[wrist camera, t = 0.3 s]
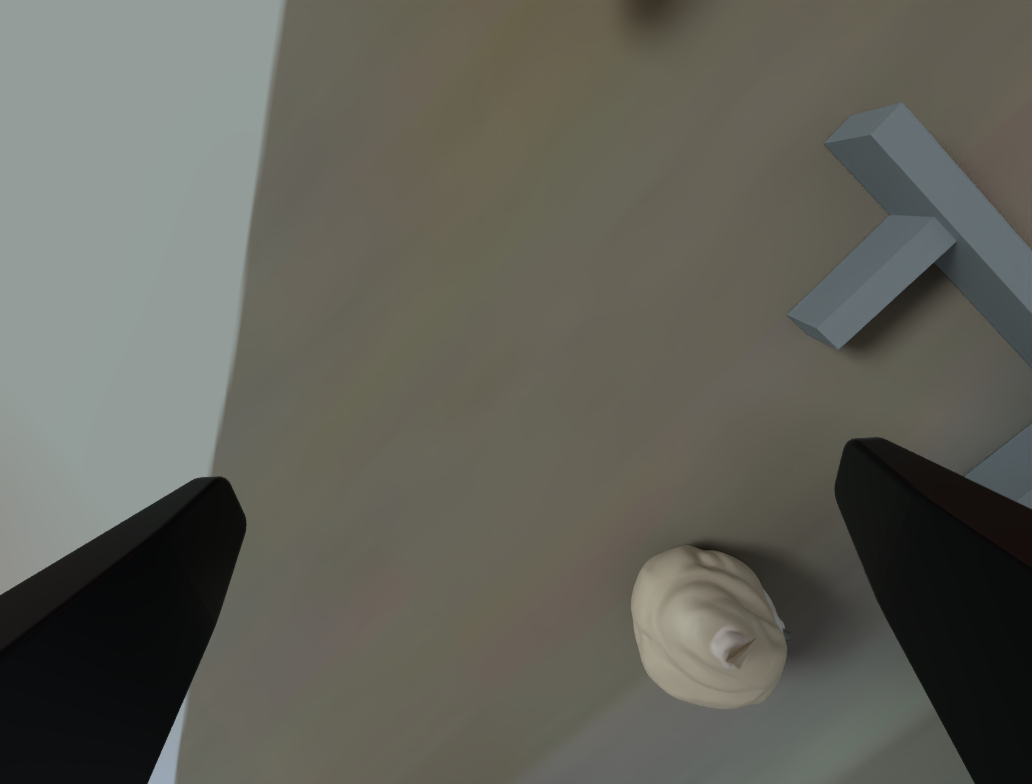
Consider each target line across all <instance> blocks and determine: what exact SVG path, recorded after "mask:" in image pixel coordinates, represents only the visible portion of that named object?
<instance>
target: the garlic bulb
mask: <svg viewBox="0 0 1032 784" xmlns="http://www.w3.org/2000/svg"><path fill="white" fill-rule="evenodd" d="M631 612H632V615H633V626H634V633H635V637H636V641H637V644H638V647H639V652H640V656H641V660H642V663H643V666H644V668H645V670H646V672H647V674H648V675H649V676H650V677H651V679H652V680H653V681H654V682H656V683H657V684H658V685H659V686H660V687H661V688H662V689H663V690H665V691H666V692H667V693H668V694H670V695H671V696H673V697H675V698H677V699H680V700H682V701H686V702H689V703H692V704H696V705H700V706H704V707H710V708H717V709H735V708H741V707H745V706H748V705H755V704H759V703H762V702H764V701H765V700H766V699H767V698H768V697H769V696H770V695H771V693H772V692H773V690H774V689H775V687H776V686H777V684H778V682H779V680H780V678H781V675H782V672H783V668H784V666H785V663H786V657H787V651H788V647H787V646H786V641H788V640H790V638H791V634H790V632H788V631H786V630H785V626H784V623H783V622H782V620H781V619H779V617H778V615H777V612H776V609H775V607H774V605H773V603H772V601H771V599H770V597H769V596H768V594H767V593H766V591H765V590H764V589H763V588H762V585H761V583H760V581H759V579H758V578H757V576H756V575H755V573H754V572H753V571H752V570H751V569H750V568H749V567H748V566H747V565H745V564H744V563H743V562H741V561H740V560H738V559H736V558H734V557H732V556H730V555H727V554H725V553H722V552H719V551H714V550H707V551H705V550H701V549H698V548H696V547H694V546H691V545H682V546H678V547H675V548H672V549H670V550H667V551H664V552H662V553H659V554H657V555H655V556H653V557H652V558H650V559H649V560H648V561H647V562H646V563H645V564H644V566H643V567H642V569H641V570H640V572H639V574H638V577H637V580H636V582H635V585H634V588H633V593H632V599H631Z"/></svg>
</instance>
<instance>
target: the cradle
mask: <svg viewBox="0 0 1032 784" xmlns="http://www.w3.org/2000/svg"><path fill="white" fill-rule="evenodd" d="M824 145H825V146H826V147H827V148H828V149H829V150H830V151H831V152H832V153H833V154H834V155H835V156H836V158H837V159H838V160H839V161H840V162H841V163H842V164H843V165H844V166H845V167H846V168H847V169H848V170H849V172H850V173H851V174H852V175H853V176H854V177H855V178H856V179H857V180H858V181H859V182H860V183H861V184H862V186H863V187H864V188H865V189H866V190H867V191H868V192H869V193H870V194H871V195H872V196H873V197H874V198H875V200H876V201H877V202H878V203H879V204H880V205H881V206H882V207H883V208H884V209H885V210H886V211H887V213H888V214H889V216H888V217H887V218H886V219H885V220H884V221H883V222H882V223H881V224H880V225H879V226H878V227H877V228H876V229H875V230H874V231H873V232H872V233H871V234H870V235H869V236H868V237H867V238H866V239H865V240H863V241H862V242H861V243H860V244H859V245H858V246H857V247H856V248H855V249H854V250H853V251H852V252H851V253H850V254H849V255H848V256H847V257H846V258H845V259H844V260H843V261H842V262H841V263H840V264H839V265H838V266H837V267H836V268H835V269H833V270H832V271H831V272H830V273H829V274H828V275H827V276H826V277H825V278H824V279H823V280H822V281H821V282H820V283H819V284H818V285H817V286H816V287H815V288H814V289H813V290H812V291H811V292H810V293H809V294H808V295H807V296H806V297H805V298H803V299H802V300H801V301H800V302H799V303H798V304H797V305H796V306H795V307H794V308H793V309H792V310H791V311H790V312H789V313H788V314H787V316H788V317H789V318H790V319H791V320H792V321H793V322H795V323H796V324H797V325H798V326H799V327H800V328H801V329H802V330H803V331H804V332H805V333H806V334H807V335H809V336H811V337H813V338H815V339H817V340H819V341H821V342H824V343H826V344H828V345H830V346H832V347H834V348H836V349H838V350H839V349H840V348H841V347H842V346H843V345H844V344H845V343H846V342H847V341H849V340H850V339H851V338H852V337H853V336H854V335H855V334H856V333H857V332H858V331H859V330H861V329H862V328H863V327H864V326H865V325H866V324H867V323H868V322H869V321H870V320H871V319H873V318H874V317H875V316H876V315H877V314H878V313H879V312H880V311H881V310H882V309H883V308H885V307H886V306H887V305H888V304H889V303H890V302H891V301H892V300H893V299H894V298H895V297H897V296H898V295H899V294H900V293H901V292H902V291H903V290H904V289H905V288H906V287H907V286H909V285H910V284H911V283H912V282H913V281H914V280H915V279H916V278H917V277H918V276H919V275H920V274H922V273H923V272H924V271H925V270H926V269H927V268H928V267H929V266H930V265H931V264H932V263H935V264H936V265H937V266H938V267H939V269H940V270H941V271H942V272H943V273H944V274H945V275H946V276H947V277H948V278H949V279H950V280H951V282H952V283H953V284H954V285H955V286H956V287H957V288H958V289H959V290H960V291H961V292H962V293H963V294H964V296H965V297H966V298H967V299H968V300H969V301H970V302H971V303H972V304H973V305H974V306H975V307H976V308H977V310H978V311H979V312H980V313H981V314H982V315H983V316H984V317H985V318H986V319H987V320H988V321H989V322H990V324H991V325H992V326H993V327H994V328H995V329H996V330H997V331H998V332H999V333H1000V334H1001V335H1002V336H1003V338H1004V339H1005V340H1006V341H1007V342H1008V343H1009V344H1010V345H1011V346H1012V347H1013V348H1014V349H1015V351H1016V352H1017V353H1018V354H1019V355H1020V356H1021V357H1022V358H1023V359H1024V360H1025V361H1026V362H1027V363H1028V365H1029V366H1030V367H1031V368H1032V250H1031V249H1030V248H1029V247H1028V246H1027V245H1026V243H1025V242H1024V241H1023V240H1022V239H1021V238H1020V237H1019V235H1018V234H1017V233H1016V232H1015V231H1014V230H1013V229H1012V227H1011V226H1010V225H1009V224H1008V223H1007V222H1006V221H1005V219H1004V218H1003V217H1002V216H1001V215H1000V214H999V212H998V211H997V210H996V209H995V208H994V207H993V206H992V204H991V203H990V202H989V201H988V200H987V199H986V198H985V196H984V195H983V194H982V193H981V192H980V191H979V190H978V188H977V187H976V186H975V185H974V184H973V183H972V182H971V180H970V179H969V178H968V177H967V176H966V175H965V174H964V172H963V171H962V170H961V169H960V168H959V167H958V165H957V164H956V163H955V162H954V161H953V160H952V159H951V157H950V156H949V155H948V154H947V153H946V152H945V151H944V149H943V148H942V147H941V146H940V145H939V144H938V143H937V141H936V140H935V139H934V138H933V137H932V136H931V135H930V133H929V132H928V131H927V130H926V129H925V128H924V127H923V125H922V124H921V123H920V122H919V121H918V120H917V118H916V117H915V116H914V115H913V114H912V113H911V112H910V110H909V109H908V108H907V107H906V106H905V105H904V104H903V102H901V103H897V104H893V105H889V106H886V107H882V108H878V109H874V110H870V111H866V112H862V113H859V114H855V115H851V116H849V117H848V118H847V119H846V121H845V122H844V123H843V124H842V125H841V126H840V127H839V128H838V129H837V130H836V131H835V132H834V133H833V134H832V135H831V136H830V137H829V138H828V139H827V140H826V141H825V142H824ZM964 477H966V478H968V479H970V480H972V481H974V482H976V483H978V484H980V485H982V486H984V487H986V488H989V489H991V490H993V491H995V492H997V493H999V494H1001V495H1003V496H1005V497H1007V498H1010V499H1012V500H1014V501H1016V502H1018V503H1020V504H1022V505H1024V506H1026V507H1028V508H1031V509H1032V423H1031V424H1030V425H1029V426H1027V427H1026V428H1025V429H1024V430H1022V431H1021V432H1020V433H1018V434H1017V435H1016V436H1015V437H1013V438H1012V439H1011V440H1010V441H1008V442H1007V443H1006V444H1005V445H1003V446H1002V447H1001V448H999V449H998V450H997V451H996V452H994V453H993V454H992V455H991V456H989V457H988V458H987V459H985V460H984V461H983V462H982V463H980V464H979V465H978V466H977V467H975V468H974V469H973V470H972V471H970V472H969V473H968V474H966V475H965V476H964Z"/></svg>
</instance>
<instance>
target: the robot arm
mask: <svg viewBox="0 0 1032 784" xmlns="http://www.w3.org/2000/svg"><path fill="white" fill-rule="evenodd" d="M835 497H836V501H837V504H838V506H839V509H840V511H841V514H842V516H843V519H844V521H845V524H846V526H847V529H848V531H849V534H850V536H851V539H852V541H853V544H854V546H855V549H856V551H857V554H858V556H859V559H860V561H861V564H862V566H863V569H864V571H865V574H866V576H867V579H868V581H869V584H870V586H871V588H872V591H873V593H874V595H875V597H876V600H877V602H878V604H879V606H880V608H881V609H882V611H883V613H884V615H885V617H886V619H887V621H888V623H889V625H890V627H891V629H892V630H893V632H894V634H895V636H896V638H897V640H898V642H899V643H900V645H901V647H902V649H903V651H904V653H905V655H906V656H907V658H908V660H909V662H910V664H911V666H912V668H913V669H914V671H915V673H916V675H917V677H918V679H919V681H920V683H921V684H922V686H923V688H924V690H925V692H926V694H927V696H928V697H929V699H930V701H931V703H932V705H933V707H934V709H935V710H936V712H937V714H938V716H939V718H940V720H941V722H942V723H943V725H944V727H945V729H946V731H947V733H948V735H949V737H950V738H951V740H952V742H953V744H954V746H955V748H956V750H957V751H958V753H959V755H960V757H961V759H962V761H963V763H964V764H965V766H966V768H967V770H968V772H969V774H970V776H971V778H972V779H973V781H974V783H975V784H1032V509H1031V508H1028V507H1026V506H1024V505H1022V504H1020V503H1018V502H1016V501H1014V500H1012V499H1010V498H1007V497H1005V496H1003V495H1001V494H999V493H997V492H995V491H993V490H991V489H989V488H986V487H984V486H982V485H980V484H978V483H976V482H974V481H972V480H970V479H968V478H966V477H963V476H961V475H959V474H957V473H955V472H953V471H951V470H949V469H947V468H945V467H942V466H940V465H938V464H936V463H934V462H932V461H930V460H928V459H926V458H924V457H922V456H919V455H917V454H915V453H913V452H911V451H909V450H907V449H905V448H903V447H901V446H898V445H896V444H894V443H892V442H890V441H888V440H886V439H883V438H879V437H873V438H856V439H851V440H849V441H848V442H847V443H846V444H845V446H844V449H843V453H842V457H841V461H840V465H839V469H838V473H837V477H836V481H835ZM245 532H246V517H245V514H244V512H243V510H242V508H241V505H240V503H239V501H238V499H237V497H236V495H235V492H234V490H233V488H232V486H231V484H230V482H229V481H228V480H227V479H226V478H224V477H220V476H217V477H201V478H196V479H193V480H192V481H190V482H188V483H187V484H185V485H183V486H182V487H180V488H178V489H177V490H175V491H173V492H172V493H170V494H169V495H167V496H165V497H163V498H162V499H160V500H158V501H157V502H155V503H153V504H152V505H150V506H148V507H147V508H145V509H143V510H142V511H140V512H138V513H136V514H135V515H133V516H131V517H130V518H128V519H127V520H125V521H123V522H121V523H120V524H118V525H117V526H115V527H113V528H112V529H110V530H108V531H106V532H105V533H103V534H102V535H100V536H98V537H97V538H95V539H93V540H91V541H90V542H88V543H86V544H85V545H83V546H82V547H80V548H78V549H77V550H75V551H73V552H71V553H70V554H68V555H66V556H65V557H63V558H61V559H60V560H58V561H56V562H55V563H53V564H51V565H50V566H48V567H46V568H45V569H43V570H42V571H40V572H38V573H37V574H35V575H33V576H31V577H30V578H28V579H26V580H25V581H23V582H21V583H20V584H18V585H16V586H15V587H13V588H11V589H10V590H8V591H6V592H5V593H3V594H1V595H0V784H148V781H149V779H150V776H151V774H152V772H153V770H154V767H155V765H156V763H157V760H158V758H159V756H160V754H161V751H162V749H163V747H164V744H165V742H166V740H167V737H168V735H169V733H170V731H171V728H172V726H173V724H174V721H175V719H176V716H177V714H178V712H179V709H180V707H181V705H182V703H183V700H184V698H185V696H186V694H187V691H188V689H189V687H190V684H191V682H192V680H193V677H194V675H195V673H196V671H197V668H198V666H199V664H200V661H201V659H202V657H203V654H204V652H205V650H206V647H207V645H208V643H209V640H210V638H211V635H212V633H213V631H214V628H215V626H216V623H217V620H218V617H219V614H220V611H221V609H222V605H223V602H224V599H225V596H226V593H227V590H228V586H229V583H230V580H231V577H232V574H233V571H234V568H235V564H236V561H237V558H238V555H239V552H240V549H241V545H242V542H243V539H244V536H245Z"/></svg>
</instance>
